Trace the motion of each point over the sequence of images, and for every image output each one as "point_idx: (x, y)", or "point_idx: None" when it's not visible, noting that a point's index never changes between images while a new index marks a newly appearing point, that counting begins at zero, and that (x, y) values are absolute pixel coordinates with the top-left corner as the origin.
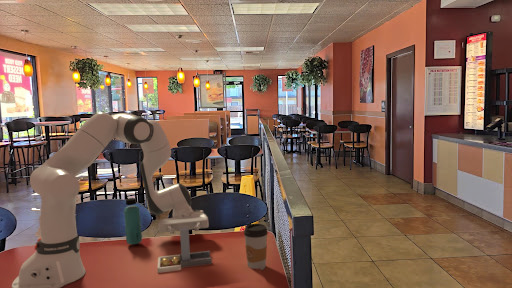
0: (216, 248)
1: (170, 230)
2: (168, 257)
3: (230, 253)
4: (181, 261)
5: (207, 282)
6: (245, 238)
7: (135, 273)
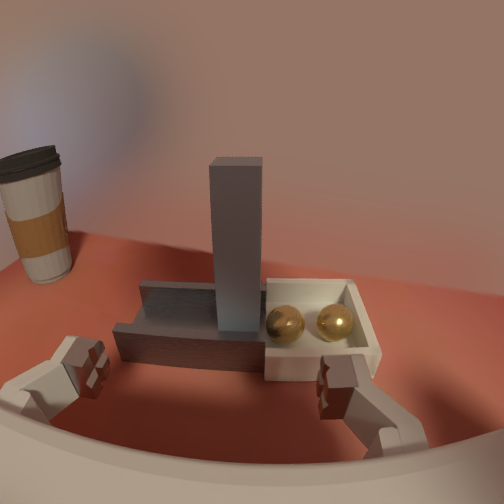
0: None
1: (356, 356)
2: (328, 351)
3: (31, 362)
4: (262, 287)
5: (198, 253)
6: (56, 179)
7: (433, 323)
